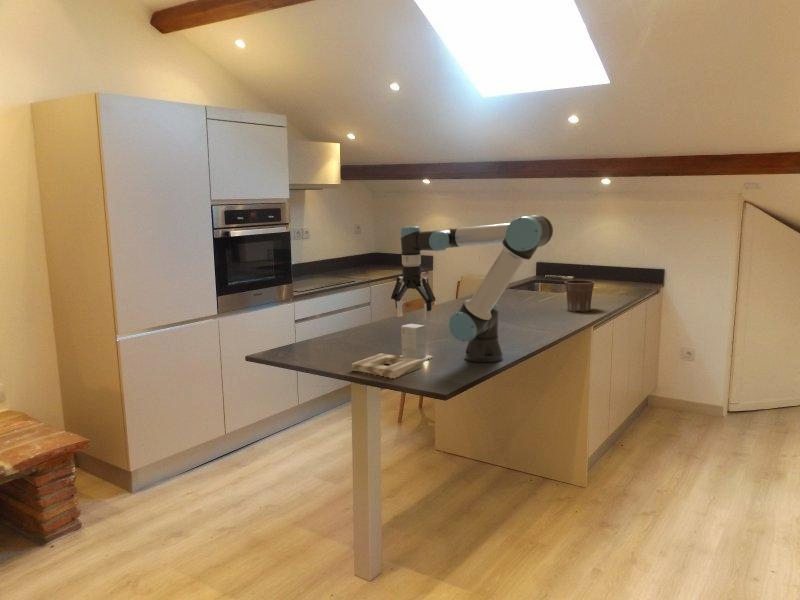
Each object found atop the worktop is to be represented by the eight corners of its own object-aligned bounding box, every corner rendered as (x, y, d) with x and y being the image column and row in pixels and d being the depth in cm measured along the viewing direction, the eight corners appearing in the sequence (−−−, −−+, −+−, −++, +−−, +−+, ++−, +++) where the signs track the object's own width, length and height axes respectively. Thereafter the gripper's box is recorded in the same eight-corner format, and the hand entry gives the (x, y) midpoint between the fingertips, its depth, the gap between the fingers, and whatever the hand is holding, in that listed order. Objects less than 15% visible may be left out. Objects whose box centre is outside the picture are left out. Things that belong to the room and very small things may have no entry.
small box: (426, 356, 255) (425, 325, 253) (416, 359, 250) (415, 328, 248) (411, 353, 260) (410, 323, 258) (401, 357, 256) (400, 325, 254)
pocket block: (421, 367, 242) (421, 359, 242) (393, 378, 228) (393, 370, 228) (381, 360, 254) (380, 353, 254) (352, 371, 240) (351, 363, 240)
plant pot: (575, 306, 360) (575, 278, 357) (600, 309, 347) (600, 281, 345) (558, 310, 349) (558, 281, 347) (582, 314, 337) (583, 284, 334)
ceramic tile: (433, 357, 256) (433, 355, 256) (419, 363, 248) (419, 361, 248) (409, 354, 263) (409, 352, 263) (395, 359, 255) (394, 357, 255)
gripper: (381, 265, 254) (383, 317, 257) (432, 267, 239) (434, 321, 242) (392, 263, 260) (394, 313, 263) (442, 265, 245) (444, 318, 248)
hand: (413, 317), depth 253 cm, fingers open, 13 cm apart
